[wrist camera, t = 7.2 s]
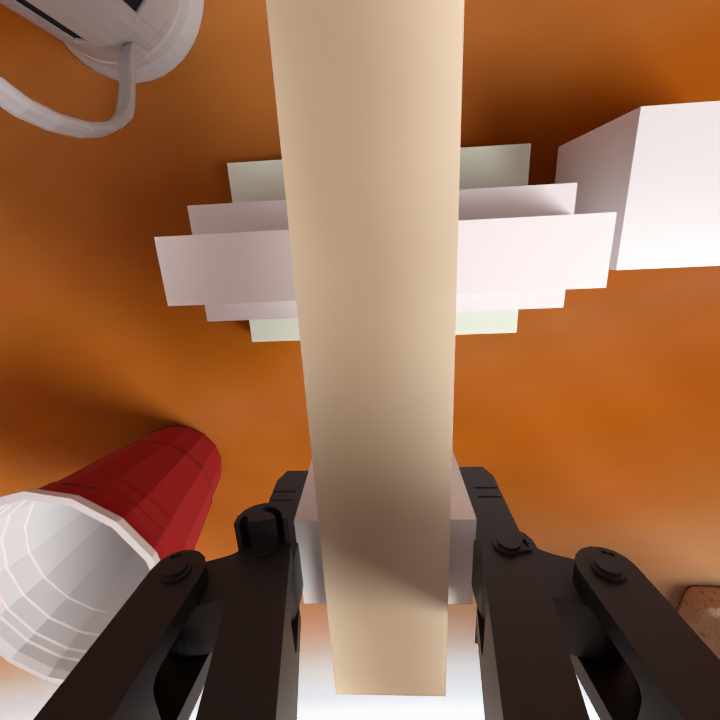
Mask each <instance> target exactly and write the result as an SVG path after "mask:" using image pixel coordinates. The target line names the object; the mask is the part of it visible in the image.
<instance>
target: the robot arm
mask: <svg viewBox="0 0 720 720" xmlns="http://www.w3.org/2000/svg"><path fill="white" fill-rule="evenodd" d="M234 528H235V533H236V538H237V544H238V549H239V551H238V552H236V553H234V554H232V555H229V556H226V557H223V558H219V559H215V560H211V561H208V562H206V561H205V557H204V556H203V555H202V554H201V553H200V552H198V551H194V550H182V551H179V552H176V553H173V554H170V555H169V556H167V557H165V558H164V559H162V560H160V561H159V562H158V563H157V564H156V565H155V566H154V567H153V568H152V569H151V570H150V572H149V573H148V574H147V575H146V577H145V578H144V579H143V581H142V582H141V583H140V584H139V586H138V587H137V588H136V589H135V591H134V592H133V593H132V595H131V596H130V597H129V598H128V600H127V601H126V602H125V603H124V605H123V606H122V607H121V609H120V610H119V611H118V612H117V614H116V615H115V616H114V618H113V619H112V620H111V621H110V623H109V624H108V625H107V626H106V628H105V629H104V630H103V632H102V633H101V634H100V635H99V637H98V638H97V639H96V640H95V642H94V643H93V644H92V646H91V647H90V648H89V649H88V651H87V652H86V653H85V655H84V656H83V657H82V658H81V660H80V661H79V662H78V663H77V665H76V666H75V667H74V669H73V670H72V671H71V672H70V674H69V675H68V676H67V677H66V679H65V680H64V681H63V683H62V684H61V685H60V686H59V688H58V689H57V690H56V691H55V693H54V694H53V695H52V697H51V698H50V699H49V700H48V702H47V703H46V704H45V706H44V707H43V708H42V709H41V711H40V712H39V713H38V714H37V716H36V717H35V718H34V720H188V719H189V717H190V715H191V713H192V711H193V709H194V707H195V704H196V702H197V700H198V698H199V696H200V694H201V692H202V689H203V687H204V689H203V693H202V697H201V701H200V705H199V709H198V713H197V717H196V720H297V698H298V675H299V652H300V629H301V617H300V610H299V605H300V600H301V595H302V590H303V598H304V603H313V604H327V601H326V591H325V581H324V571H323V561H322V551H321V542H320V532H319V522H318V512H317V502H316V492H315V482H314V472H313V462H311V465H310V468H309V471H287V472H286V473H285V474H284V475H283V476H282V477H281V478H280V479H278V480H277V483H276V485H275V488H274V490H273V493H272V495H271V497H270V502H268V503H263V504H259V505H255V506H252V507H250V508H248V509H246V510H245V511H243V512H242V513H241V514H240V515H239V516H238V517H237V519H236V521H235V522H234ZM473 592H474V596H475V600H476V603H477V615H476V632H475V643H478V647H479V658H480V669H481V680H482V691H483V702H484V713H485V720H589V716H588V713H587V710H586V707H585V703H584V700H583V697H582V693H581V690H580V687H579V684H578V680H577V677H578V678H579V680H580V682H581V684H582V686H583V688H584V690H585V692H586V693H587V695H588V697H589V699H590V701H591V703H592V705H593V707H594V708H595V710H596V712H597V714H598V716H599V718H600V720H720V660H719V658H718V657H717V656H716V655H715V654H714V653H713V652H712V651H711V649H710V648H709V647H708V646H707V645H706V644H705V643H704V642H703V640H702V639H701V638H700V637H699V636H698V635H697V634H696V633H695V632H694V630H693V629H692V628H691V627H690V626H689V625H688V624H687V623H686V621H685V620H684V619H683V618H682V617H681V616H680V615H679V614H678V612H677V611H676V610H675V609H674V608H673V607H672V606H671V605H670V603H669V602H668V601H667V600H666V599H665V598H664V597H663V596H662V594H661V593H660V592H659V591H658V590H657V589H656V588H655V587H654V586H653V584H652V583H651V582H650V581H649V580H648V579H647V578H646V577H645V575H644V574H643V573H642V572H641V571H640V570H639V569H638V568H637V567H636V566H635V565H634V564H633V563H632V562H631V561H630V560H628V559H627V558H626V557H624V556H622V555H620V554H618V553H617V552H615V551H612V550H609V549H605V548H602V547H586V548H583V549H581V550H580V551H579V552H578V553H577V554H576V556H575V560H574V559H570V558H566V557H562V556H558V555H554V554H551V553H547V552H544V551H542V550H540V549H538V548H537V547H536V545H535V544H534V542H533V540H532V539H530V538H529V537H528V536H527V535H526V534H524V533H522V532H520V531H519V529H518V527H517V525H516V523H515V521H514V519H513V517H512V515H511V513H510V510H509V508H508V506H507V504H506V502H505V500H504V498H503V497H502V494H501V492H500V489H498V485H497V483H496V481H495V479H494V477H493V475H491V474H490V473H489V472H488V471H487V470H485V469H484V468H483V467H458V464H457V461H456V458H455V455H454V452H453V449H452V476H451V513H450V550H449V587H448V604H472V597H473ZM575 673H576V674H575ZM576 675H577V677H576Z"/></svg>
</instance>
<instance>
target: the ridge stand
mask: <svg viewBox="0 0 720 720" xmlns="http://www.w3.org/2000/svg"><path fill="white" fill-rule="evenodd" d="M530 151H531V143H526V144H511V145H496V146H480V147H465V148H460V178H459V216H458V253H457V290H456V327H455V335H461V334H489V333H516V331H517V318H518V309H536V308H561V307H563V306H564V297H565V289H586V288H606V284H607V277H608V270H609V263H610V257H611V250H612V243H613V236H614V229H615V222H616V216H617V212H608V213H590V214H574V210H575V201H576V192H577V183H563V184H546V185H529V186H528V177H529V164H530ZM227 167H228V174H229V182H230V189H231V196H232V203H223V204H206V205H189V206H187V208H188V214H189V219H190V225H191V231H192V235H183V236H164V237H154V240H155V245H156V250H157V255H158V259H159V264H160V269H161V274H162V279H163V284H164V289H165V294H166V298H167V303H168V306H186V305H205V310H206V316H207V322H210V321H235V320H249V323H250V330H251V337H252V342H267V341H295V340H300V333H299V323H298V314H297V304H296V294H295V284H294V274H293V264H292V254H291V244H290V234H289V224H288V214H287V205H286V195H285V185H284V175H283V165H282V160H267V161H251V162H236V163H227Z"/></svg>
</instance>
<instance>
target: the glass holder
mask: <svg viewBox="0 0 720 720" xmlns="http://www.w3.org/2000/svg"><path fill="white" fill-rule="evenodd" d="M0 3H1V4H2V5H4V6H6V7H7V8H9V9H11V10H12V11H14V12H16V13H17V14H19V15H21V16H22V17H24V18H25V19H27V20H29V21H30V22H32V23H34V24H35V25H37V26H39V27H40V28H42V29H43V30H45V31H47V32H48V33H50V34H52V35H53V36H55V37H57V38H58V39H60V40H61V41H63V42H64V44H65V45H66V46H67V48H68V49H69V50H70V51H71V52H72V53H73V54H74V55H75V56H76V57H77V58H78V59H79V60H80V61H82V62H83V63H84V64H85V65H87V66H88V67H90V68H91V69H93V70H94V71H95V72H97V73H99V74H101V75H103V76H106V77H108V78H110V79H113V80H117V81H119V91H118V101H117V107H116V110H115V114H114V115H113V116H112V117H111V118H110V119H109V120H108V121H106V122H88V121H85V120H81V119H78V118H74V117H71V116H67V115H64V114H60V113H58V112H56V111H54V110H52V109H50V108H48V107H46V106H44V105H42V104H40V103H38V102H36V101H34V100H32V99H30V98H29V97H27V96H26V95H25V94H23V93H22V92H21V91H19V90H18V89H17V88H16V87H14V86H13V85H12V84H10V83H9V82H8V81H6V80H5V79H4V78H2V77H1V76H0V107H2V108H3V109H5V110H6V111H7V112H9V113H10V114H12V115H13V116H15V117H17V118H19V119H22V120H24V121H26V122H28V123H31V124H33V125H35V126H37V127H40V128H42V129H44V130H46V131H50V132H54V133H59V134H63V135H67V136H71V137H75V138H99V137H105V136H107V135H109V134H111V133H113V132H116V131H118V130H120V129H122V128H123V127H125V126H126V125H127V124H128V123H129V122H130V121H131V120H132V118H133V117H134V110H135V95H136V83H141V82H148V81H152V80H155V79H157V78H160V77H162V76H164V75H166V74H167V73H169V72H170V71H172V70H173V69H175V67H176V66H177V65H178V64H179V63H180V62H181V61H182V60H183V59H184V58H185V57H186V55H187V54H188V52H189V51H190V49H191V48H192V46H193V44H194V41H195V39H196V37H197V34H198V32H199V28H200V24H201V20H202V16H203V8H204V0H0Z"/></svg>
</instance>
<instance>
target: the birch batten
mask: <svg viewBox="0 0 720 720" xmlns="http://www.w3.org/2000/svg"><path fill="white" fill-rule="evenodd" d="M266 6H267V16H268V26H269V36H270V46H271V56H272V66H273V76H274V86H275V96H276V105H277V115H278V125H279V135H280V145H281V155H282V165H283V175H284V185H285V195H286V205H287V214H288V224H289V234H290V244H291V254H292V264H293V274H294V284H295V294H296V304H297V314H298V323H299V333H300V343H301V353H302V363H303V373H304V383H305V393H306V403H307V413H308V423H309V433H310V442H311V452H312V462H313V472H314V482H315V492H316V502H317V512H318V522H319V532H320V542H321V551H322V561H323V571H324V581H325V591H326V601H327V611H328V621H329V631H330V641H331V651H332V660H333V670H334V680H335V690H336V694H352V695H407V696H446V661H447V624H448V587H449V550H450V513H451V476H452V438H453V401H454V364H455V327H456V290H457V253H458V216H459V178H460V141H461V104H462V67H463V30H464V0H266Z"/></svg>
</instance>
